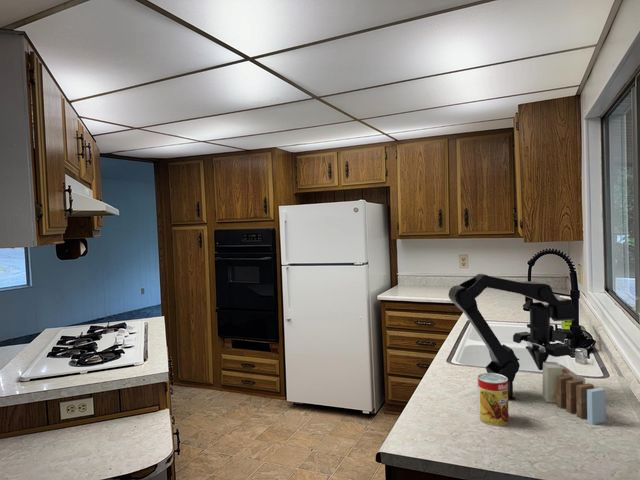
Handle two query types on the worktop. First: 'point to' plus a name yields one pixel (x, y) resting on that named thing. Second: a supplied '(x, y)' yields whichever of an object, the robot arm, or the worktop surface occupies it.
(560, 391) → the domino
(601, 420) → the domino
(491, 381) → the canned food
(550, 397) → the box
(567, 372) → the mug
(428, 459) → the worktop surface
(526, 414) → the worktop surface
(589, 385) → the domino
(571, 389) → the domino
